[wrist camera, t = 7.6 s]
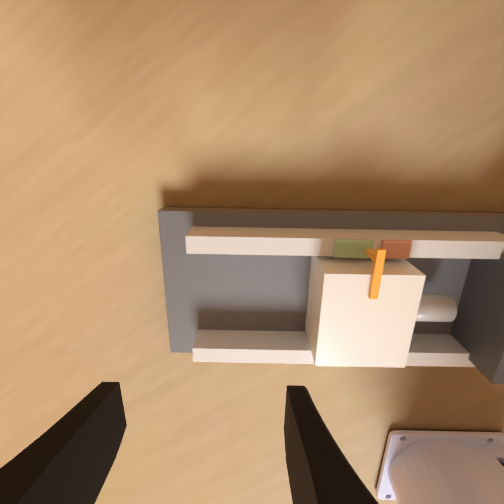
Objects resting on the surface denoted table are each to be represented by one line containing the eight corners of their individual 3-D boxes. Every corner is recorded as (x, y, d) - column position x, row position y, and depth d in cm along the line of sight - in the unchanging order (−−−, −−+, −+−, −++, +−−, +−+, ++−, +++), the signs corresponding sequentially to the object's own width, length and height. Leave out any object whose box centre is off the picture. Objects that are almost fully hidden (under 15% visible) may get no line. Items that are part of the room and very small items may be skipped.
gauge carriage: (446, 229, 18) (495, 252, 14) (422, 330, 20) (458, 372, 17) (313, 227, 18) (328, 249, 14) (305, 328, 20) (316, 369, 17)
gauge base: (517, 212, 19) (610, 237, 14) (475, 347, 22) (537, 405, 17) (163, 206, 19) (131, 229, 14) (175, 341, 22) (152, 397, 17)
